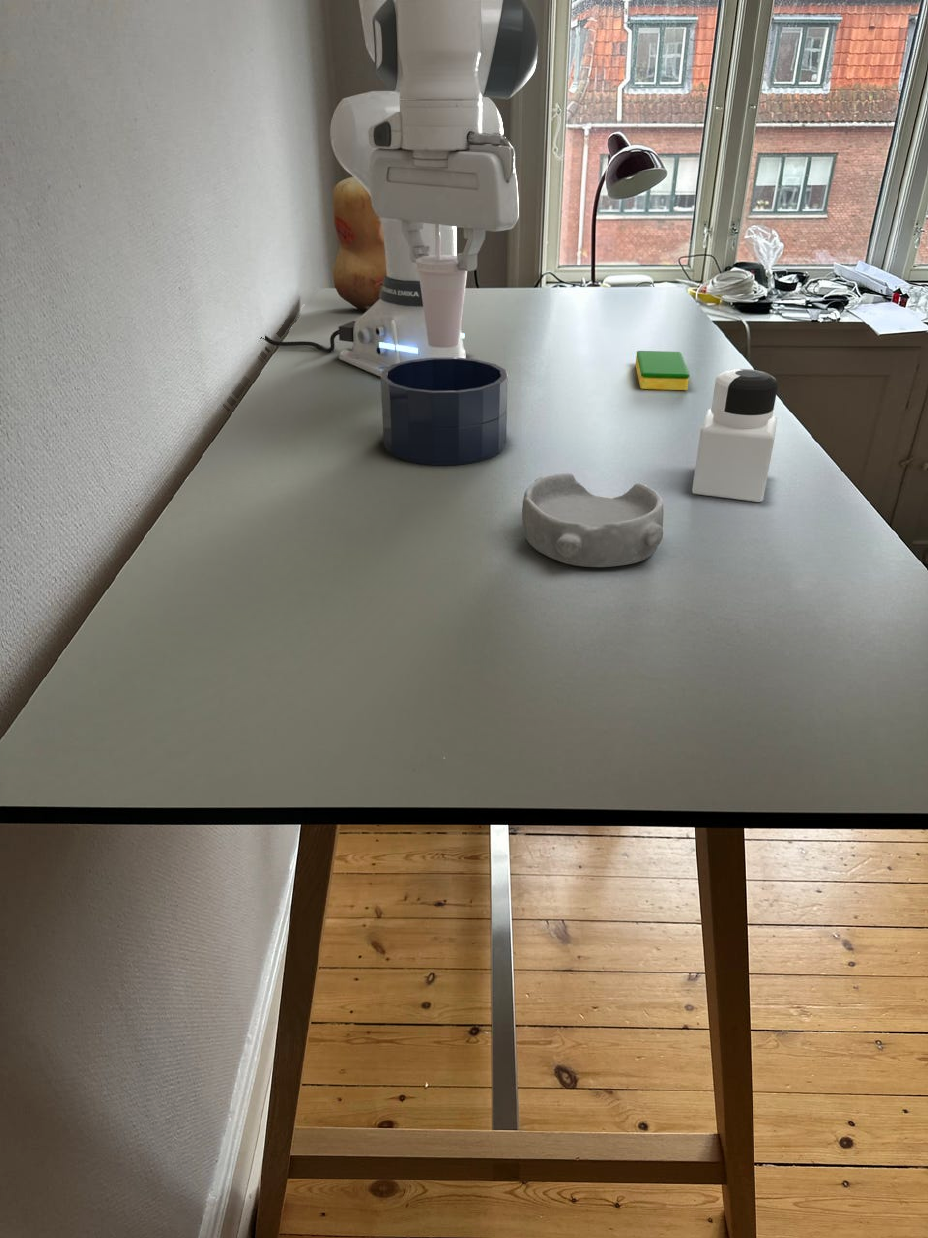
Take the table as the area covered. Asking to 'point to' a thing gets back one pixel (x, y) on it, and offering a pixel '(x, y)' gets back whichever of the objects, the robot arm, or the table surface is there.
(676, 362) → the dish sponge
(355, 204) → the butternut squash
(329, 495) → the table surface
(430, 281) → the smoothie
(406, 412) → the pot
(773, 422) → the container
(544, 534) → the dish
